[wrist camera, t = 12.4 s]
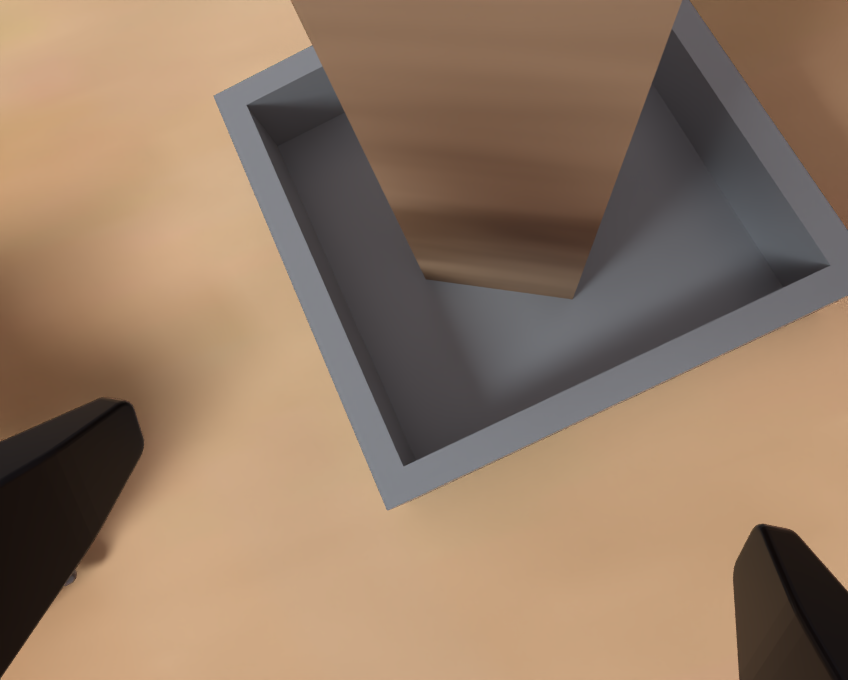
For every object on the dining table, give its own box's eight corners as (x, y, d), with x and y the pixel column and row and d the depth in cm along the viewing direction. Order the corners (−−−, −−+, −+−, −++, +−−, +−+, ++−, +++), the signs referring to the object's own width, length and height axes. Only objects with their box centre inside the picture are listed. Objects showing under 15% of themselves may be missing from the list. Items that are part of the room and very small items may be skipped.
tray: (819, 310, 17) (881, 279, 14) (407, 502, 18) (387, 510, 15) (599, -28, 20) (614, -109, 17) (255, 146, 21) (213, 95, 18)
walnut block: (572, 299, 18) (686, -12, 6) (425, 279, 18) (275, -31, 7) (595, 142, 18) (733, -397, 7) (453, 129, 19) (362, -376, 8)
